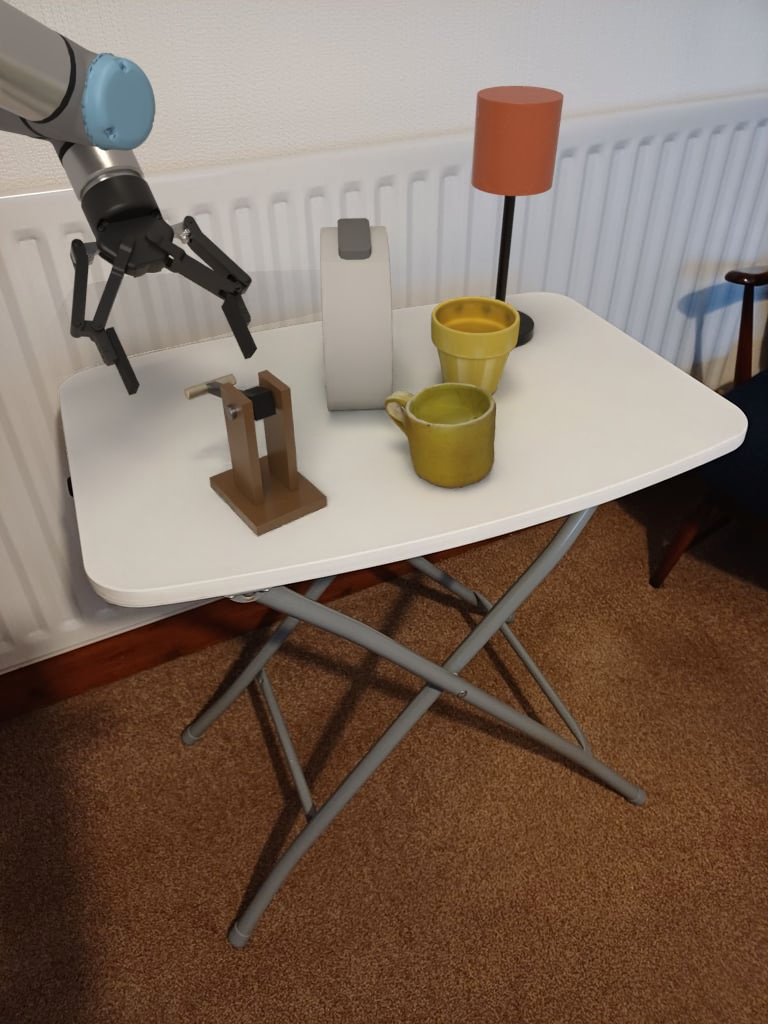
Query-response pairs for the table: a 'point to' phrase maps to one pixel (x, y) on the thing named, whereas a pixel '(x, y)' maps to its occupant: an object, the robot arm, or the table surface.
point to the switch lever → (257, 394)
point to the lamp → (515, 159)
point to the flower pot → (474, 339)
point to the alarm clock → (356, 314)
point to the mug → (447, 431)
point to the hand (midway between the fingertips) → (195, 371)
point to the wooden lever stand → (264, 462)
